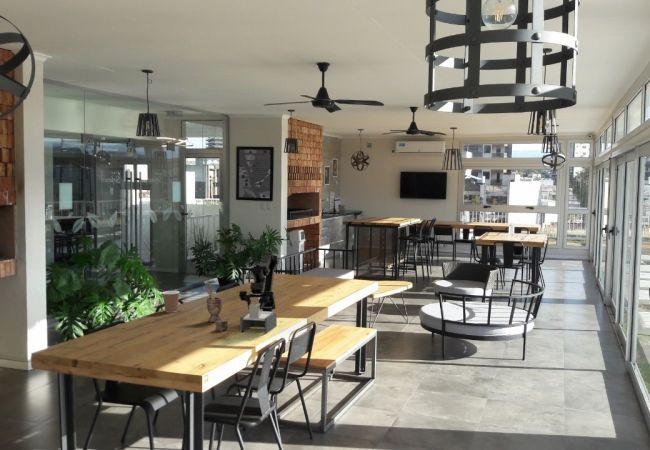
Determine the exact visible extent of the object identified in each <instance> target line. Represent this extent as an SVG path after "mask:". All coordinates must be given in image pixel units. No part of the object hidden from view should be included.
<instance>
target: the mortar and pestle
mask: <svg viewBox="0 0 650 450" xmlns="http://www.w3.org/2000/svg"><path fill="white" fill-rule="evenodd" d="M205 290H206V291H207V294H208V296H209V298H206V308H207V312H208V314H210V317H208V320H207V321H208V322H210V323H216V321H218V320H222V318H221V316H220V313H221V311H222V306H223V301H222V300H223V298H222V297H214V294H213V290H212V287H211V286H210V285H207V286H205Z"/></svg>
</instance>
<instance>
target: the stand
mask: <svg viewBox="0 0 650 450" xmlns="http://www.w3.org/2000/svg"><path fill="white" fill-rule="evenodd" d="M227 329H228V320H226V319H221V320H218V321H216V322H215V331H218V330H220V331H219V332H224V331H223V330H225V331H228V330H227Z"/></svg>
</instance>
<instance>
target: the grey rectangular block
mask: <svg viewBox="0 0 650 450" xmlns="http://www.w3.org/2000/svg"><path fill="white" fill-rule="evenodd" d="M261 311H262V309H261V310H260V303H259V302H251V304H250V305H249V309H248V312H249V318H259V317H260V316H261Z"/></svg>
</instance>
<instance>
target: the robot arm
mask: <svg viewBox="0 0 650 450" xmlns="http://www.w3.org/2000/svg"><path fill="white" fill-rule="evenodd" d="M279 264H280V259H279V257H278V255H275V254H274V253H272V252H265V253H264V254H263V258H262V259H261V262H260V263H257V264H255V266H253V267H252V268H251V270H250V271H251V275H252V277H253V280H254V282H250V287H249V288H250V292H251V293H250V292H248V291H247V290H240V291H239V292H238V293H239V294H238V296H239V299H240V301H242V302H243V301H245V302H246V303H247V309H248V310H249V305H250V304H251V303H252V300H251V298H258V303H260V310H261V311H265V312H273V310H276V308H277V307H276V302H275V299H276V298H275V297H276V296H275V294H274V291H273V284H274V276H275V271H276V270H277V269H278V265H279Z"/></svg>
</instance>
